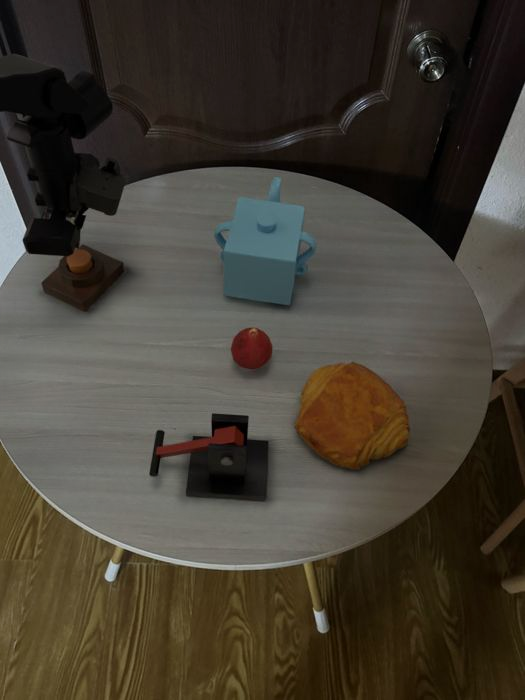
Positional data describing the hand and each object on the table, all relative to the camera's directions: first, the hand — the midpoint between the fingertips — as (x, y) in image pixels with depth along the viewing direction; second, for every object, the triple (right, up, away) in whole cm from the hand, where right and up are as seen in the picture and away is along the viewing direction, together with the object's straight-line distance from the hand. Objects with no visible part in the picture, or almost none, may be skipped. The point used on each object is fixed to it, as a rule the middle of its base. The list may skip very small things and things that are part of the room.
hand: (75, 246), depth 92 cm
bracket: (+23, -31, -12) cm, 41 cm away
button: (0, -2, +3) cm, 4 cm away
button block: (0, -5, +6) cm, 8 cm away
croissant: (+39, -26, -7) cm, 47 cm away
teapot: (+28, -2, +10) cm, 30 cm away
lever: (+20, -28, -16) cm, 38 cm away
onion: (+26, -18, -2) cm, 32 cm away
